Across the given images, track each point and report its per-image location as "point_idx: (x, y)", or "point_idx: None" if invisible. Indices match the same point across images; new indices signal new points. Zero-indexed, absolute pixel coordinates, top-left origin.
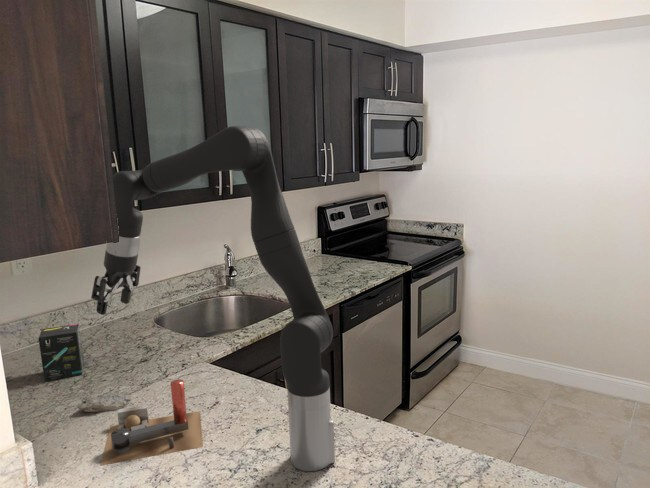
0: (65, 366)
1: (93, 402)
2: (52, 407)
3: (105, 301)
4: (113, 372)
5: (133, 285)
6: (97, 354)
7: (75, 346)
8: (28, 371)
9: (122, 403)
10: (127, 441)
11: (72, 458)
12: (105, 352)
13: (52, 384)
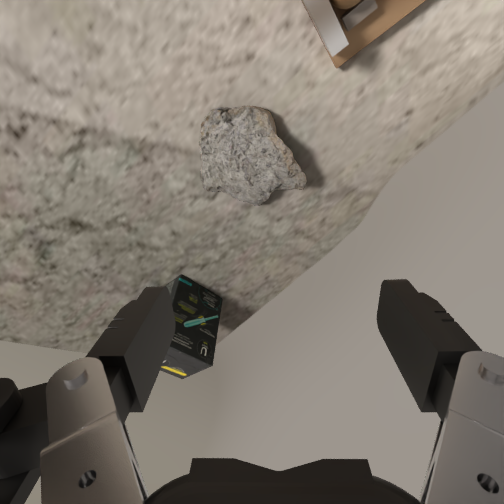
0: (195, 299)
1: (284, 169)
2: (282, 239)
3: (494, 357)
4: (145, 240)
5: (29, 405)
6: (120, 298)
7: None
8: None
9: (252, 114)
10: None
11: (455, 59)
12: (107, 294)
13: (224, 286)
